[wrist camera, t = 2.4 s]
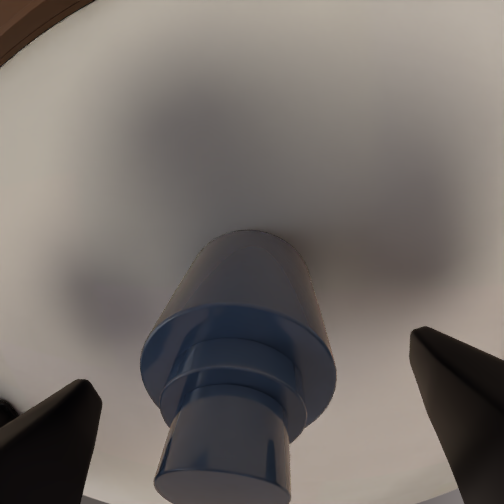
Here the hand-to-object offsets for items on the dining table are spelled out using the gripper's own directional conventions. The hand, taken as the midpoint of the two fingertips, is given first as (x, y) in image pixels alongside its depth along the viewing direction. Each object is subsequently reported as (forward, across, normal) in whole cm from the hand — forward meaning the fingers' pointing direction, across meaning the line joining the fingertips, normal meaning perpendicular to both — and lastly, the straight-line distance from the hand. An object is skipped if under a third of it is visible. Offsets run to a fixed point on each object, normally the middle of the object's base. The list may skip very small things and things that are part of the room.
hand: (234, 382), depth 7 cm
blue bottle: (+5, 0, 0) cm, 5 cm away
